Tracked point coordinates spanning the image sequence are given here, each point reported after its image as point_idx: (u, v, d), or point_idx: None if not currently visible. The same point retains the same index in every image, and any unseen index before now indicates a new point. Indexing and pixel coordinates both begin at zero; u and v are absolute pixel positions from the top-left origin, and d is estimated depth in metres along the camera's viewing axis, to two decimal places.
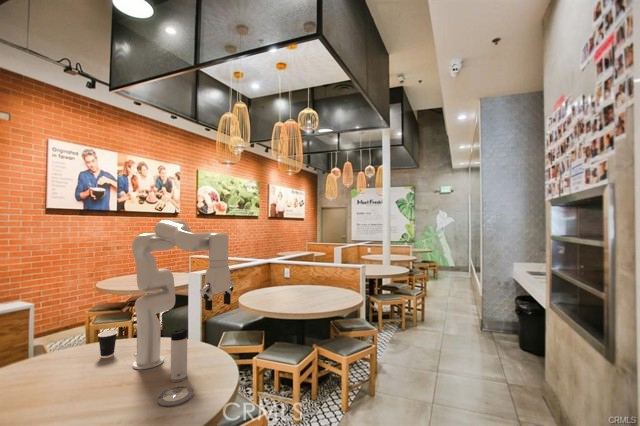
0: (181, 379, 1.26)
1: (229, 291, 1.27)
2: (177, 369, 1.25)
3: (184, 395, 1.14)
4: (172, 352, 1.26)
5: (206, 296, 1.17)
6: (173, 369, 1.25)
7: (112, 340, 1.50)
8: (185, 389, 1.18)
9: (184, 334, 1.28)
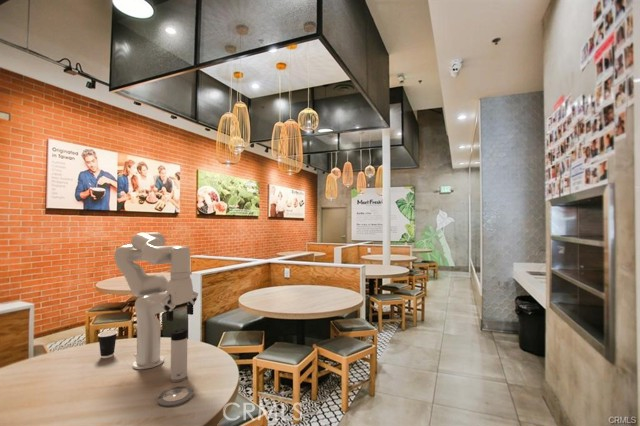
0: (181, 379, 1.26)
1: (192, 302, 1.33)
2: (177, 369, 1.25)
3: (184, 395, 1.14)
4: (172, 352, 1.26)
5: (167, 307, 1.23)
6: (173, 369, 1.25)
7: (112, 340, 1.50)
8: (185, 389, 1.18)
9: (184, 334, 1.28)
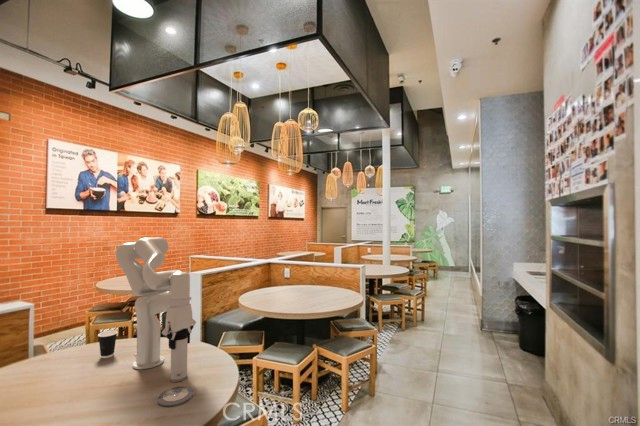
0: (181, 379, 1.26)
1: (188, 330, 1.31)
2: (177, 369, 1.25)
3: (184, 395, 1.14)
4: (172, 352, 1.26)
5: (169, 336, 1.24)
6: (173, 368, 1.25)
7: (112, 340, 1.50)
8: (185, 389, 1.18)
9: (184, 334, 1.28)
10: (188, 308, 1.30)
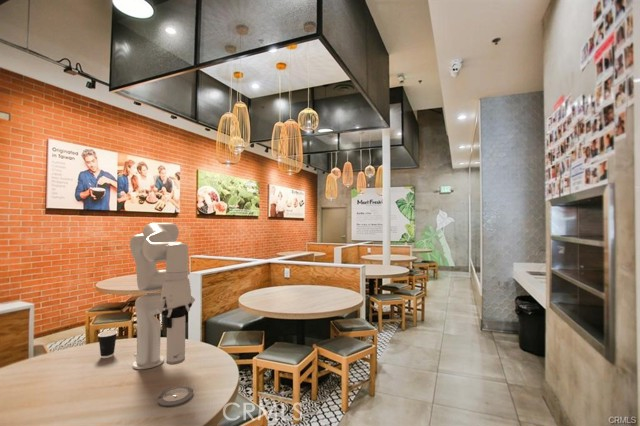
0: (178, 361, 1.12)
1: (186, 308, 1.18)
2: (174, 350, 1.12)
3: (184, 395, 1.14)
4: (168, 331, 1.12)
5: (165, 313, 1.10)
6: (170, 350, 1.12)
7: (112, 340, 1.50)
8: (185, 389, 1.18)
9: (182, 311, 1.14)
10: (186, 283, 1.17)
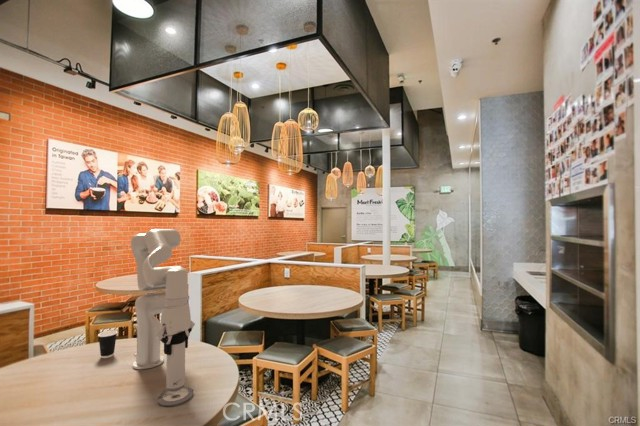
0: (178, 388, 1.12)
1: (186, 333, 1.17)
2: (174, 377, 1.11)
3: (184, 395, 1.14)
4: (168, 358, 1.12)
5: (164, 340, 1.10)
6: (169, 376, 1.11)
7: (112, 340, 1.50)
8: (185, 389, 1.18)
9: (181, 337, 1.14)
10: (186, 308, 1.16)
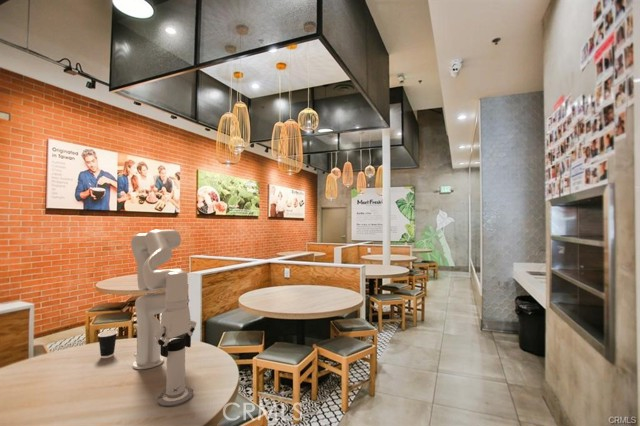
0: (178, 395, 1.12)
1: (189, 333, 1.19)
2: (174, 383, 1.12)
3: (184, 395, 1.14)
4: (168, 364, 1.12)
5: (161, 342, 1.09)
6: (169, 383, 1.12)
7: (112, 340, 1.50)
8: (185, 389, 1.18)
9: (181, 344, 1.14)
10: (186, 311, 1.16)
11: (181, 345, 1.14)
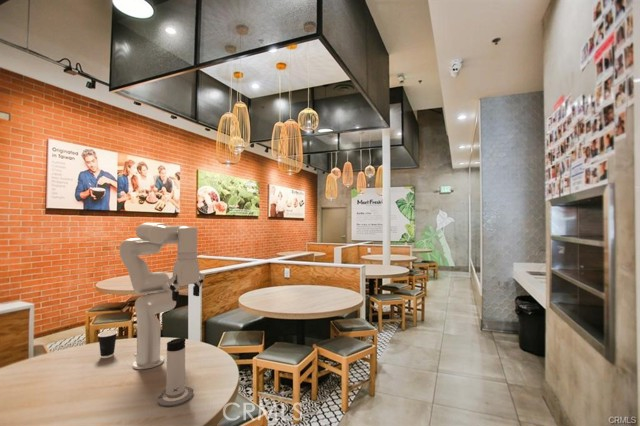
0: (178, 395, 1.12)
1: (198, 283, 1.31)
2: (174, 383, 1.12)
3: (184, 395, 1.14)
4: (168, 364, 1.12)
5: (172, 287, 1.21)
6: (169, 383, 1.12)
7: (112, 340, 1.50)
8: (185, 389, 1.18)
9: (181, 344, 1.14)
10: (195, 263, 1.28)
11: (181, 345, 1.14)
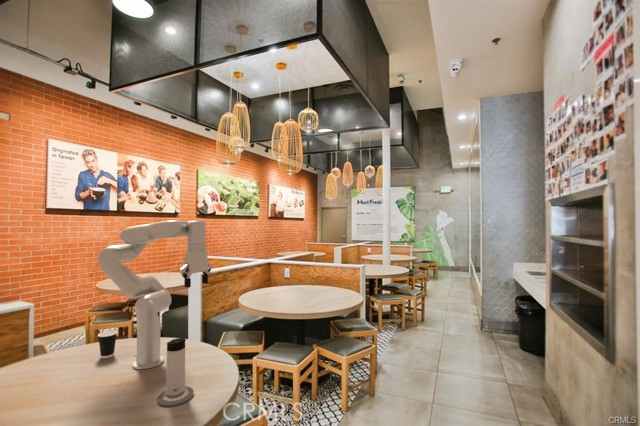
0: (178, 395, 1.12)
1: (207, 272, 1.44)
2: (174, 383, 1.12)
3: (184, 395, 1.14)
4: (168, 364, 1.12)
5: (185, 274, 1.34)
6: (169, 383, 1.12)
7: (112, 340, 1.50)
8: (185, 389, 1.18)
9: (181, 344, 1.14)
10: (204, 253, 1.42)
11: (181, 345, 1.14)
